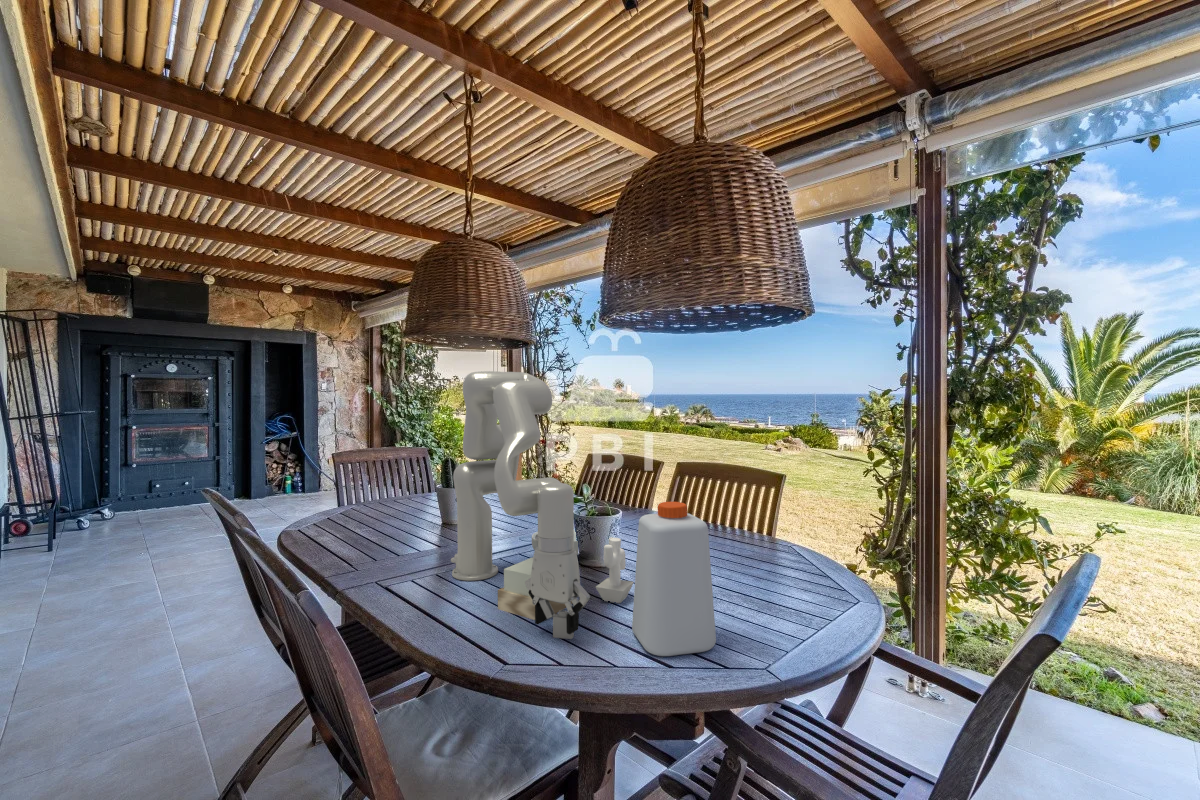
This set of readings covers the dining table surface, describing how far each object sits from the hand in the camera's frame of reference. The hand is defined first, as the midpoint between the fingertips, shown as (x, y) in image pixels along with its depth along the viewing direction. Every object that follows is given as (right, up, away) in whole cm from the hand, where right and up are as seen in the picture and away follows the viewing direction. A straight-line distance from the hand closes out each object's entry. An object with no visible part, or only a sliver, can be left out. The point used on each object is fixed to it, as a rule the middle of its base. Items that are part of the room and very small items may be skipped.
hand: (556, 626), depth 116 cm
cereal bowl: (-4, -1, +55) cm, 55 cm away
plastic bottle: (+24, -2, -2) cm, 24 cm away
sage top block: (-6, +3, +16) cm, 17 cm away
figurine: (+13, -2, +20) cm, 24 cm away
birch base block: (-6, -2, +16) cm, 17 cm away
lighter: (0, -2, 0) cm, 2 cm away
